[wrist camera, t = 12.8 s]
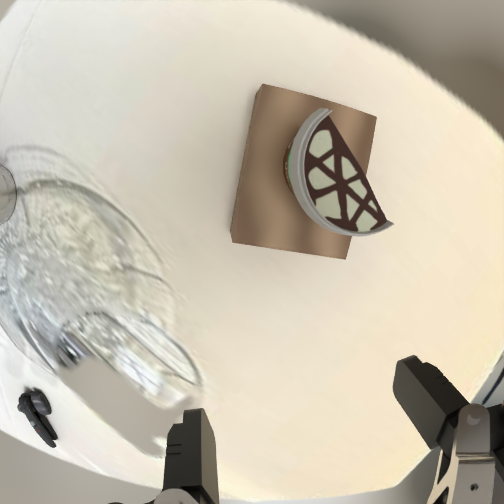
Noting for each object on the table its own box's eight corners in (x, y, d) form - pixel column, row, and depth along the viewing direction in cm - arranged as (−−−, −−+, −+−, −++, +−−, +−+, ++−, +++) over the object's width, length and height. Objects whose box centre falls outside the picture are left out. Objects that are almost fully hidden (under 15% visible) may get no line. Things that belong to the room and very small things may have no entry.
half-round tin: (249, 148, 31) (264, 144, 22) (295, 118, 31) (328, 104, 21) (309, 238, 35) (343, 268, 26) (350, 209, 35) (396, 229, 25)
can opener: (19, 381, 43) (8, 398, 38) (45, 388, 44) (35, 407, 39) (44, 434, 48) (37, 450, 43) (68, 441, 49) (62, 458, 44)
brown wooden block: (230, 229, 40) (232, 242, 34) (255, 94, 35) (262, 83, 29) (329, 245, 42) (345, 259, 36) (355, 120, 37) (376, 116, 31)
